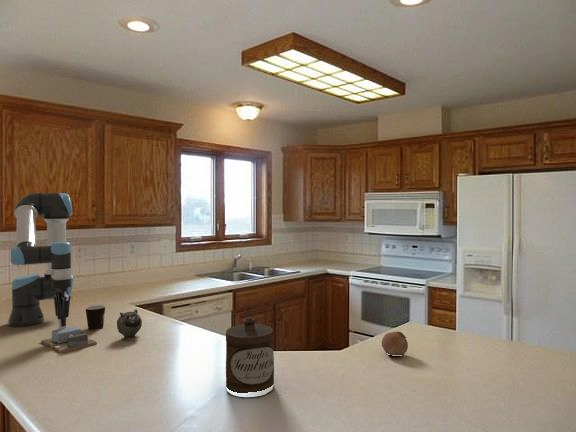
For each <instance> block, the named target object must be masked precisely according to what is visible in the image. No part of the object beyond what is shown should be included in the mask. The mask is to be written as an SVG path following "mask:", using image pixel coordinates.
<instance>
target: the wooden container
mask: <svg viewBox="0 0 576 432" xmlns="http://www.w3.org/2000/svg"><path fill="white" fill-rule="evenodd" d="M225 341H226V342H225V348H226V349H225V350H226V352H225V388H226V387H227V388H228V389H229V390H231V391H233V392H237V393H248V392H257V391H262V390H265V389H267V388H269V387H271V386H272V385H273V384H274V385H275V357H274V356H275V355H274V330H273V328H272V327H271V326H269V325H265V324H261V323H256V321H255V318H253V317H251V316H248V317H247V316H246V318H245V319H243V324H238V325H237V324H236V325H234V326H231V327H229V328H227V330H226V331H225Z"/></svg>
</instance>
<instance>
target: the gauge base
mask: <svg viewBox="0 0 576 432" xmlns="http://www.w3.org/2000/svg"><path fill="white" fill-rule="evenodd" d="M53 342H54V341H52V337H49V338H43V339H41V340H40V343H41V344H43V345H45V346H47V347H49V348H51V349H52V350H54V351H56V352H58V353H59V354H63V353H68V352H71V351H74V350H79V349H83V348H88V347H92V346H96V345H97V344H98V343H97V341H96V340H93V339H91V338H89V334H88V333H86V332H85V333H81V334H80V335H75V336H71V337H68V342H63V343H59V344H58V343H54V344H52V343H53Z"/></svg>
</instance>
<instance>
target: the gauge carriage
mask: <svg viewBox="0 0 576 432" xmlns="http://www.w3.org/2000/svg"><path fill="white" fill-rule="evenodd" d="M80 334H82V328H79V327H77V326H74V325H72V326H69V327H67V326H66V328H63V329H55V330H54V329H53V330H51V338H52V341H54V342H53V343H52V344H54V343H58V344H59V343H63V342H68V337H71V336H75V335H80Z"/></svg>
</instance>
